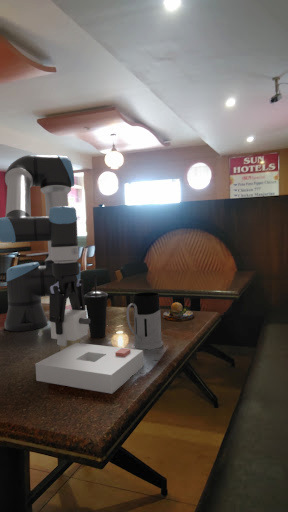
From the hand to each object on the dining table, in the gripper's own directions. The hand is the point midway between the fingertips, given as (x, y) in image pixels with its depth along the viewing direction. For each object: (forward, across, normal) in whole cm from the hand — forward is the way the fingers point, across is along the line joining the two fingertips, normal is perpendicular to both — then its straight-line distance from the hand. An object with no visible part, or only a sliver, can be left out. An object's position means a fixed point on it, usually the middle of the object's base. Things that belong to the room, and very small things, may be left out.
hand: (69, 341), depth 102 cm
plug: (+3, 0, -1) cm, 3 cm away
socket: (+3, -12, -15) cm, 19 cm away
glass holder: (+3, +9, -19) cm, 21 cm away
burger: (+3, +46, -17) cm, 49 cm away
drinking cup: (+3, +15, 0) cm, 15 cm away
